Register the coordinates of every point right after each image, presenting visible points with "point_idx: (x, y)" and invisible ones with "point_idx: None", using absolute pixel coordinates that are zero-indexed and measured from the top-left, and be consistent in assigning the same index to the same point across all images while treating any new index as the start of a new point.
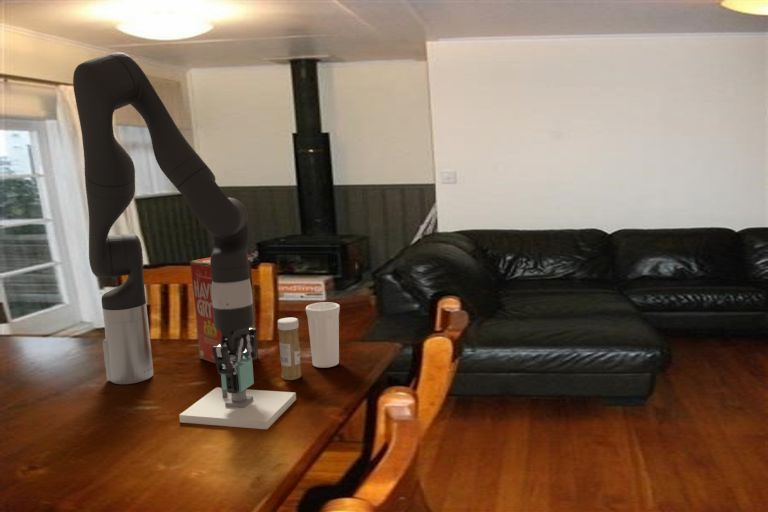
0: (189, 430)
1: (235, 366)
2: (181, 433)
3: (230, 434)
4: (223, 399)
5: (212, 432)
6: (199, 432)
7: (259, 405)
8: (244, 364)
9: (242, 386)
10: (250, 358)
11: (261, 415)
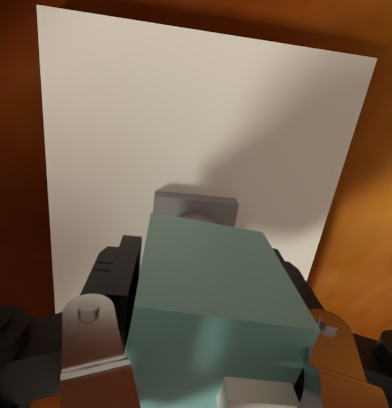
0: (326, 302)
1: (346, 357)
2: (342, 312)
3: (373, 181)
4: None
5: (349, 239)
6: (343, 273)
7: (210, 145)
8: (253, 318)
9: (259, 241)
10: (86, 327)
11: (312, 102)
